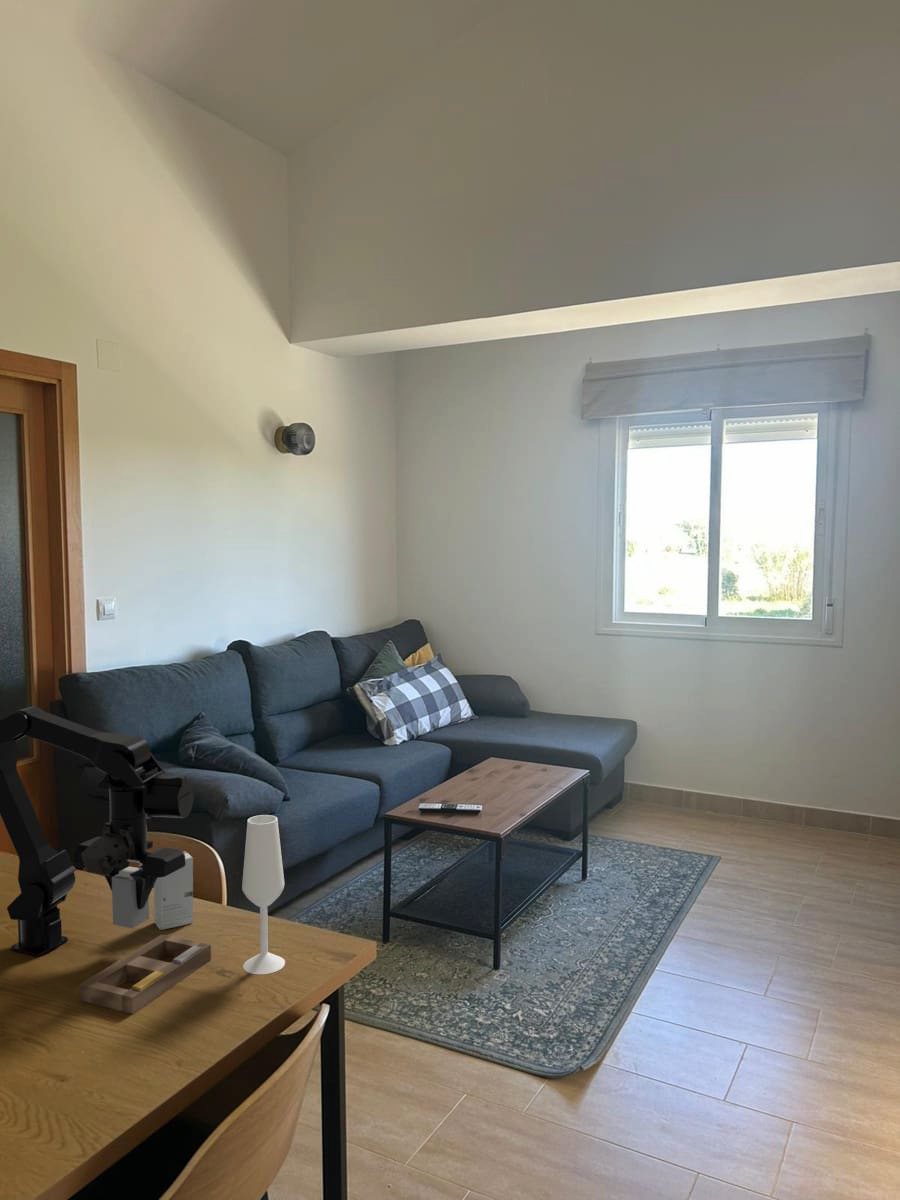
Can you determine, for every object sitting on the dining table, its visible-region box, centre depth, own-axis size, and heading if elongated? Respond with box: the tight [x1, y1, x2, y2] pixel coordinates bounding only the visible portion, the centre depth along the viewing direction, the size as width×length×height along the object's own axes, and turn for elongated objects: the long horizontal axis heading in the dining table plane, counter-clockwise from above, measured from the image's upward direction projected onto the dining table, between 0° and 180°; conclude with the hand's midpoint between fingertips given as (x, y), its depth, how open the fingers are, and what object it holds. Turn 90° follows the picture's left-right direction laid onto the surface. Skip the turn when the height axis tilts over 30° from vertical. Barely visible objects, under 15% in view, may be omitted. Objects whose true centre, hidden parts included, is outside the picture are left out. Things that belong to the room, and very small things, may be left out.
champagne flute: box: [241, 814, 286, 975], centre depth 141 cm, size 7×7×24 cm
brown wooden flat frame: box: [79, 934, 212, 1015], centre depth 137 cm, size 10×18×3 cm, turn 158°
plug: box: [111, 865, 150, 929], centre depth 146 cm, size 4×4×9 cm
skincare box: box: [153, 851, 194, 931], centre depth 157 cm, size 6×4×12 cm
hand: (130, 906), depth 146 cm, fingers closed on plug, 4 cm apart
